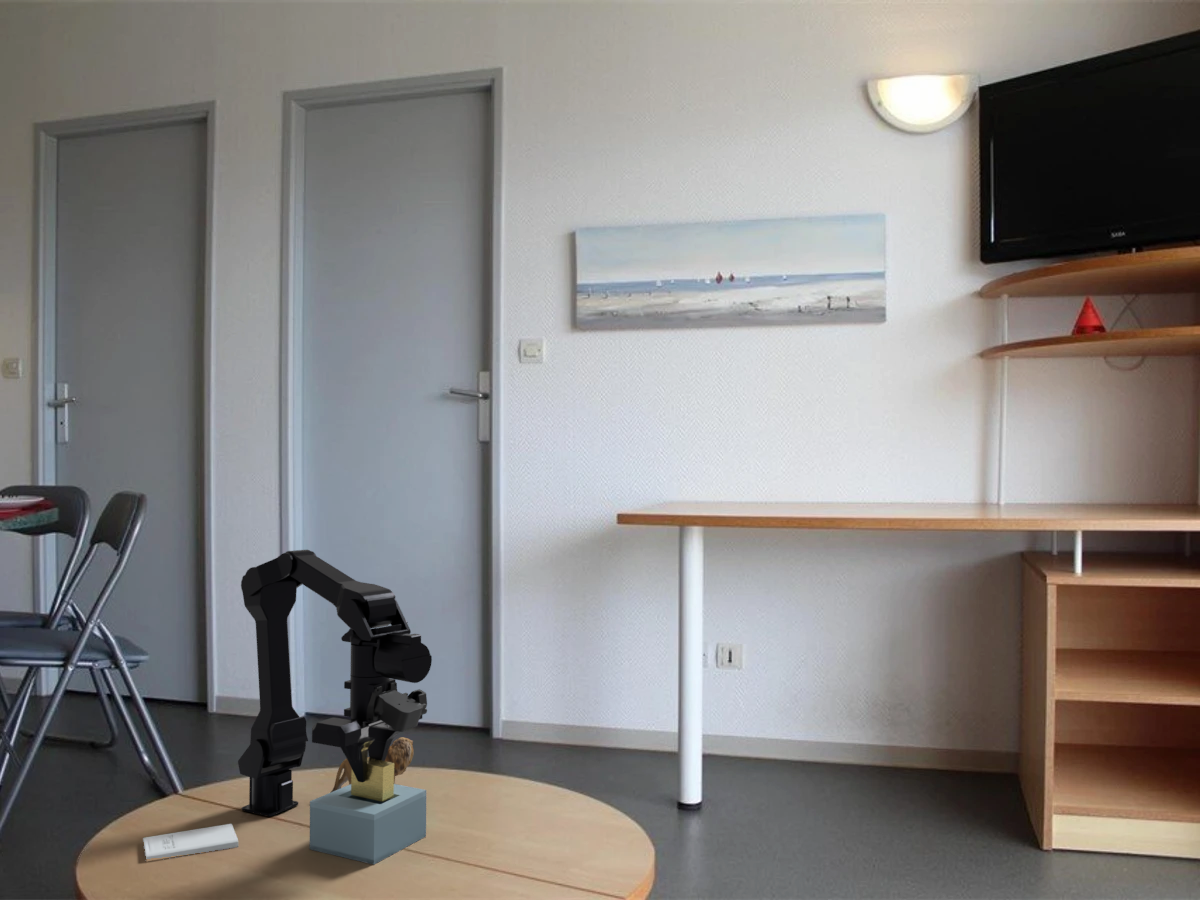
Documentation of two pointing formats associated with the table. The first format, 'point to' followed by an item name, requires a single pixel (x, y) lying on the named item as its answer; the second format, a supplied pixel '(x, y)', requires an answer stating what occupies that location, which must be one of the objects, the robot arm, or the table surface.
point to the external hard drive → (191, 842)
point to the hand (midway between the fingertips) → (369, 778)
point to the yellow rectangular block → (375, 781)
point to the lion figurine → (396, 754)
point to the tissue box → (367, 823)
